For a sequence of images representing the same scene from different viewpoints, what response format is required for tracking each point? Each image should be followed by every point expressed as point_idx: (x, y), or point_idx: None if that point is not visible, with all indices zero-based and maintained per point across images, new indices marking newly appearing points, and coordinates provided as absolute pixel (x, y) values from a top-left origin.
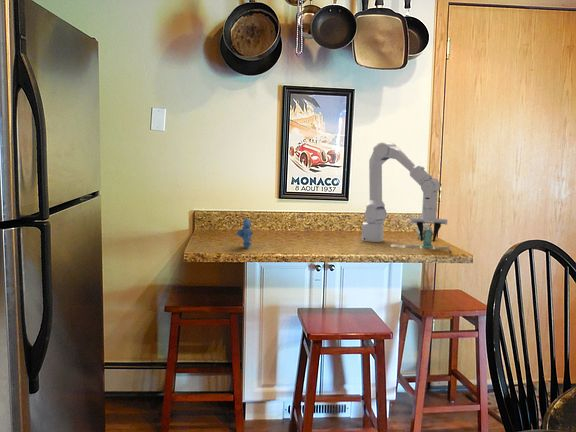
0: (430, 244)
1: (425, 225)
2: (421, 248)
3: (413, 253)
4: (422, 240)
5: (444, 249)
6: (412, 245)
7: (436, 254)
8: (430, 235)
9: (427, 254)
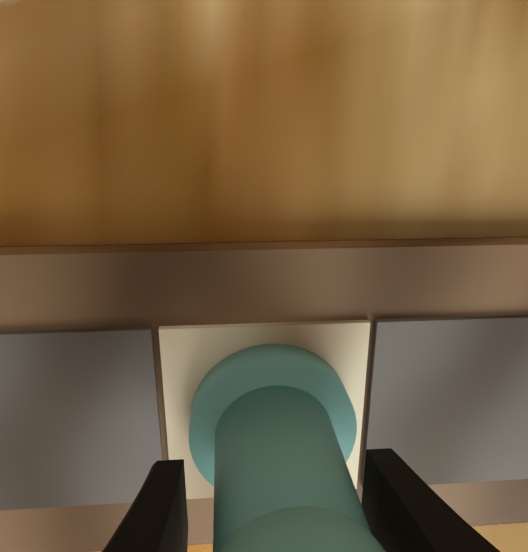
0: (228, 417)
1: None
2: (357, 321)
3: (492, 77)
4: (372, 453)
5: (17, 347)
6: (448, 483)
7: (143, 97)
8: (242, 534)
9: (285, 54)
